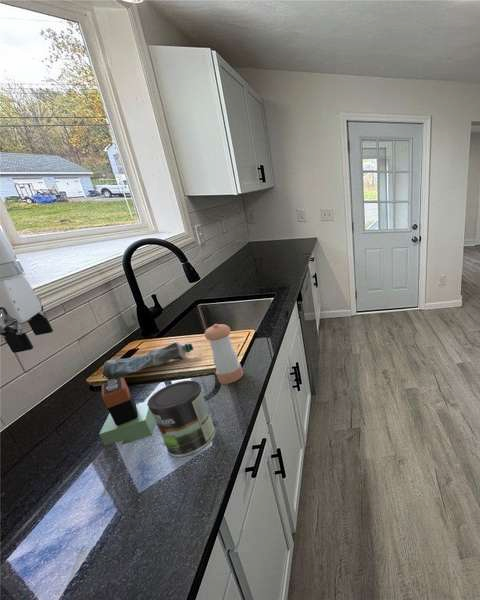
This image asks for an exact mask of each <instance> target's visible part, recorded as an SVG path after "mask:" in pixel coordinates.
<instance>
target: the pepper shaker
mask: <svg viewBox="0 0 480 600" xmlns="http://www.w3.org/2000/svg"><path fill="white" fill-rule="evenodd" d="M230 334H231V327H230V326H229V325H227V324H224V323H223V324H221V323H220V324H219V323H214V324H213V325H212V326H209V327H207V329H206V330H205V331H204V338H205V339H206V340H208V341H209V344H210V347H211V351H212V358H213V359H212V361H213V364H214V366H215V374H216V378H217V380H218V383H219V384H221V385H229V384H232V383H235V382H238V381H239V380H240V379H242V378H243V376H244V371H243V367H242V365H241V363H240V362H239V358H238V354H237V353H236V351H235V349H234V347H233V345H232V344H233V343H232V341H231V337H230Z"/></svg>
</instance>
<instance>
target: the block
mask: <svg viewBox="0 0 480 600" xmlns="http://www.w3.org/2000/svg"><path fill="white" fill-rule="evenodd" d="M148 401H149V400H145V401H143V402H138V403H135V404H136V408H137V413H138V417H137V418H135V419H133V420H130V421H128V422H126V423H123V424H121V425H118V426H117V425H116V424H115V422H114V420H113V418H112V416H111V414H110V412H109V413H108V415H107V418H105V422H104V424H103V426H102V427H101V429H100V431H99V433H98V435H99V437H100V439H101V441H102V443H103V444H104V446H105V447H106V446H108V445H112V444H115V443H118V442H121V446H124V445H127V444H129V443H133V442H135V441H138V440H142V439H145V438H148V437H151V436H153V434H154V430H153V429H155V426H156V423H155V419H154V417H153V415H152V412H151V410H150V409H149V407H148V405H147V404H148ZM154 425H155V426H154ZM144 437H145V438H144Z"/></svg>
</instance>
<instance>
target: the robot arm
mask: <svg viewBox="0 0 480 600" xmlns="http://www.w3.org/2000/svg"><path fill="white" fill-rule="evenodd" d="M25 275H26V272H25V271H24V268H23V267H22V265H21V263H20V261H19V258H18V257H17V255H16V252H15V251H14V249H13V247H12V245H11V243H10V241H9V239H8V238H7V235H6V234H5V231H4V230H3V228H2V226H1V225H0V337H1V339H4V341H5V342H6V344H7V346H8V347H9V349H10V351H11V352H12V353H13V354H16V353H22V352H26V351H30V350H33V349H34V345H33V343H32V341H31V339H30V337H29V336H28V335H27V333H26V332H23V324H24V323H25V322H27V323H28V325H29V327H30V328H31V331H32V332H33V334H34V335H35V336H42V335H46V334H51V333H53V332H54V329H53V327H52V325H51V323H50V321H49V319H48V317H47V314H46V312H45V311H44V306H43V305H42V301H41V298H40V297H39V296H37V293H35V291H34V289H33V287H32V286H31V284H30V283H29V281H28V280H27V278H26V277H25ZM13 327H14V328H13Z"/></svg>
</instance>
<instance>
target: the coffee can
mask: <svg viewBox="0 0 480 600" xmlns="http://www.w3.org/2000/svg"><path fill="white" fill-rule="evenodd" d="M147 401H148V404H147V405H148V407H149V409H150V410H151V412H152V415H153V417H154V419H155V422H156V423H155V425H156V426H157V429H158V430H159V433H160V436H161V438H162V441H163V443H164V445H165V448H166V450H167V453H168V454H169V455H170V456H171V457H175V458H183V457H187V456H190V455H194V454H196V453H198V452H199V451H201V450H203V449H204V448H206V447H207V446H208V445H209V444H210V443H211V442H212V441H213V439H214V438H215V436H216V432H217V431H216V428H215V426H214V423H213V420H212V417H211V414H210V411H209V409H208V405H207V403H206V400H205V397H204V394H203V390H202V386H201V383H200V382H199V381H196V380H182V381H178V382H175V383H172V384H170V385H167V386H164V387H163V388H161V389H159V390H158V391H156V392H155V393H154V394H152V395H151V396H150V397H149V399H148V400H147Z"/></svg>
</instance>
